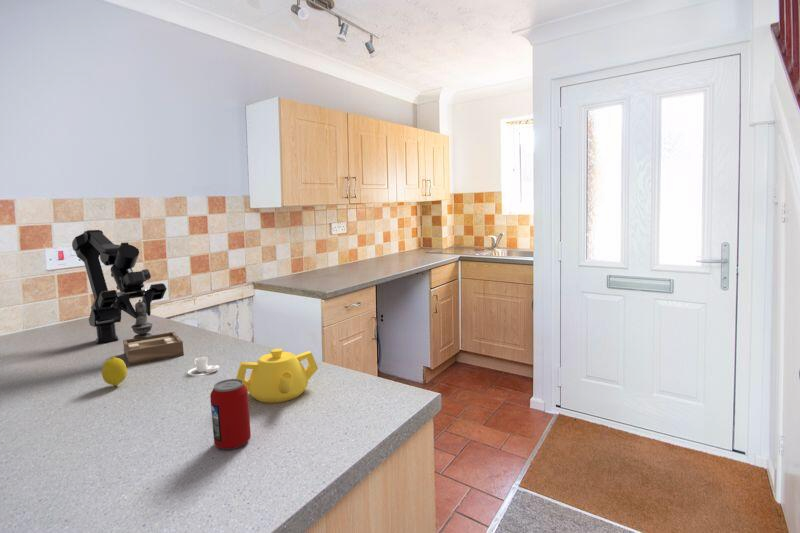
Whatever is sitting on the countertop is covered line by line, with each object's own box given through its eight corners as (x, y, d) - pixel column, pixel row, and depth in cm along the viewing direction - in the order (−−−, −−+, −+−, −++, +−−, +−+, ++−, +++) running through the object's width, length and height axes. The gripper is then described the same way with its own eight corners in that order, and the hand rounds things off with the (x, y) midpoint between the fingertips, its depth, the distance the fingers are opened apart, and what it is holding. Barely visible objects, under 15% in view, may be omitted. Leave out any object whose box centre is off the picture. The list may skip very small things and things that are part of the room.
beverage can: (220, 435, 91) (215, 378, 89) (254, 433, 92) (250, 376, 90) (209, 453, 84) (204, 392, 83) (246, 450, 85) (241, 389, 83)
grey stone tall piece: (153, 332, 146) (149, 296, 145) (154, 337, 141) (150, 299, 140) (132, 335, 143) (128, 298, 142) (132, 340, 138) (128, 301, 137)
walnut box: (124, 353, 147) (123, 340, 146) (175, 344, 155) (173, 331, 155) (129, 365, 135) (127, 351, 134) (183, 355, 143) (182, 341, 143)
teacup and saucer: (223, 371, 129) (222, 358, 128) (195, 380, 123) (194, 365, 122) (210, 365, 135) (209, 352, 134) (182, 372, 129) (181, 359, 128)
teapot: (244, 420, 97) (240, 371, 96) (232, 391, 114) (229, 349, 112) (332, 400, 107) (330, 355, 105) (310, 376, 123) (308, 336, 121)
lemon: (133, 383, 120) (130, 354, 119) (114, 391, 115) (110, 361, 114) (117, 381, 122) (114, 352, 121) (98, 389, 117) (95, 359, 116)
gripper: (96, 265, 134) (114, 306, 129) (161, 259, 149) (180, 295, 143) (90, 288, 140) (107, 328, 135) (153, 280, 155) (170, 316, 149)
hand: (143, 316), depth 140 cm, fingers closed on grey stone tall piece, 4 cm apart
